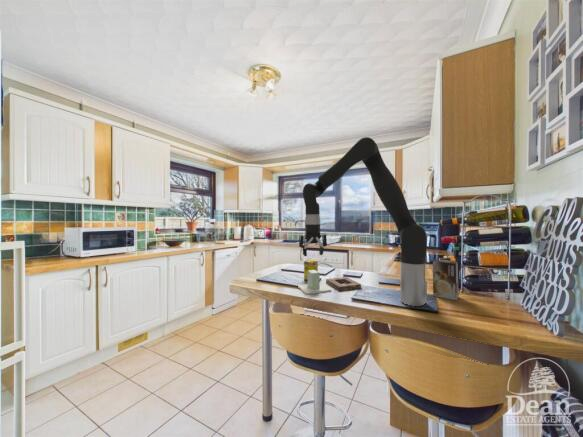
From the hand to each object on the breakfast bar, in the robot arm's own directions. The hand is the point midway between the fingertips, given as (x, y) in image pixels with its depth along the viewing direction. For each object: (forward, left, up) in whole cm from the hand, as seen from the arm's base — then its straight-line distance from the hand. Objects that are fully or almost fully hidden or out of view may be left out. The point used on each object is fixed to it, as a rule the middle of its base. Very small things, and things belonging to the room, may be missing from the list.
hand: (313, 255), depth 117 cm
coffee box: (-52, +30, -17) cm, 62 cm away
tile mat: (0, 0, -17) cm, 17 cm away
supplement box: (-5, -15, -17) cm, 23 cm away
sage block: (0, 0, -16) cm, 16 cm away
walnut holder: (-17, 0, -17) cm, 24 cm away
